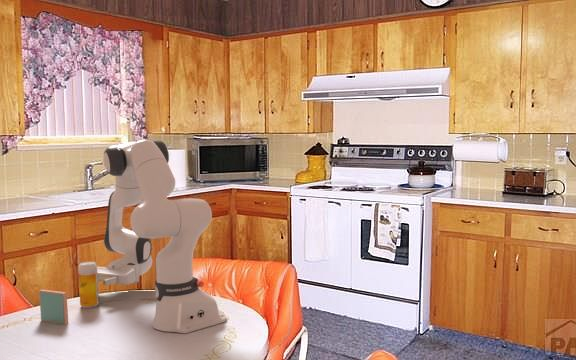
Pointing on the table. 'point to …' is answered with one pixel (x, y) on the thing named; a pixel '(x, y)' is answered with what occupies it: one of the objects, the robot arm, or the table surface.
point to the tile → (53, 306)
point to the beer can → (88, 284)
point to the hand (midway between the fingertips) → (93, 281)
